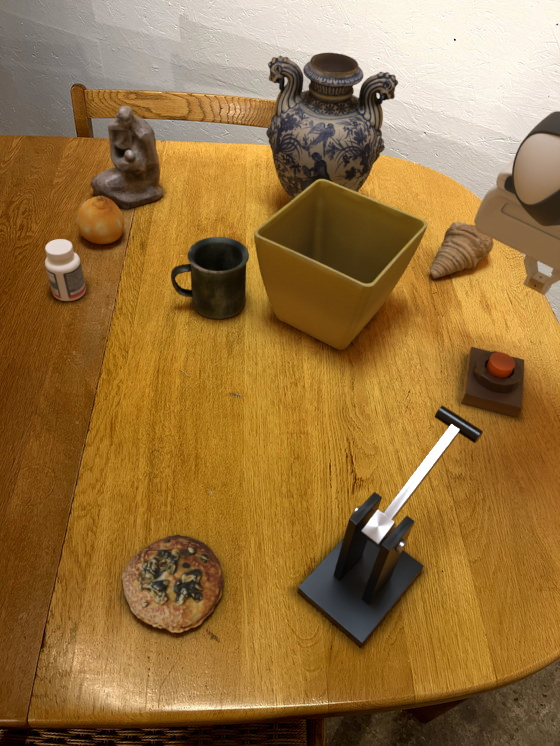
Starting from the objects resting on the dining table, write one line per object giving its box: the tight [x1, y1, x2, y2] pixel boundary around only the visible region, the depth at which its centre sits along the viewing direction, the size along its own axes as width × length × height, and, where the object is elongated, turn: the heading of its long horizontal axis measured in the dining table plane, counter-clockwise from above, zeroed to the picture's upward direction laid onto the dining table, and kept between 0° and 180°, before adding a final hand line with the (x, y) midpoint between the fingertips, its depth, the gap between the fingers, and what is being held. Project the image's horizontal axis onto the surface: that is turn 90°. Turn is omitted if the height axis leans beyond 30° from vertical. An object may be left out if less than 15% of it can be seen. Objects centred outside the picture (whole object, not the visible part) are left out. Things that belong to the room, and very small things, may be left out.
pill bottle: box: [44, 238, 87, 302], centre depth 102 cm, size 5×5×9 cm
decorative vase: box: [265, 52, 399, 201], centre depth 114 cm, size 21×19×28 cm
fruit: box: [76, 196, 125, 245], centre depth 113 cm, size 8×8×8 cm
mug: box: [170, 236, 250, 320], centre depth 101 cm, size 9×12×10 cm
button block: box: [460, 346, 525, 418], centre depth 95 cm, size 10×8×4 cm
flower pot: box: [253, 179, 429, 351], centre depth 99 cm, size 19×19×17 cm
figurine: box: [90, 105, 164, 210], centre depth 118 cm, size 13×12×18 cm
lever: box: [361, 405, 484, 549], centre depth 67 cm, size 16×5×2 cm, turn 138°
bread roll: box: [121, 534, 225, 634], centre depth 71 cm, size 11×11×5 cm
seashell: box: [429, 221, 495, 280], centre depth 113 cm, size 14×8×8 cm
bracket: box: [296, 491, 425, 648], centre depth 70 cm, size 12×9×14 cm
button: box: [486, 351, 515, 378], centre depth 93 cm, size 4×4×2 cm
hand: (535, 288), depth 83 cm, fingers closed
